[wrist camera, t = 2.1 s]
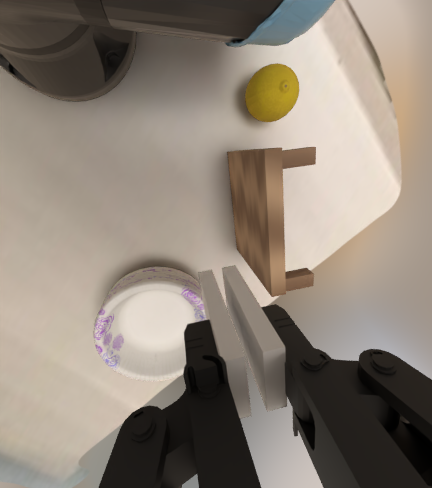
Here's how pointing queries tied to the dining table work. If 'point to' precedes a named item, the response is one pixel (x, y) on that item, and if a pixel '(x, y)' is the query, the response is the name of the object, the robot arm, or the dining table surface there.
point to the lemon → (272, 92)
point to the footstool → (265, 213)
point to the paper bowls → (148, 323)
